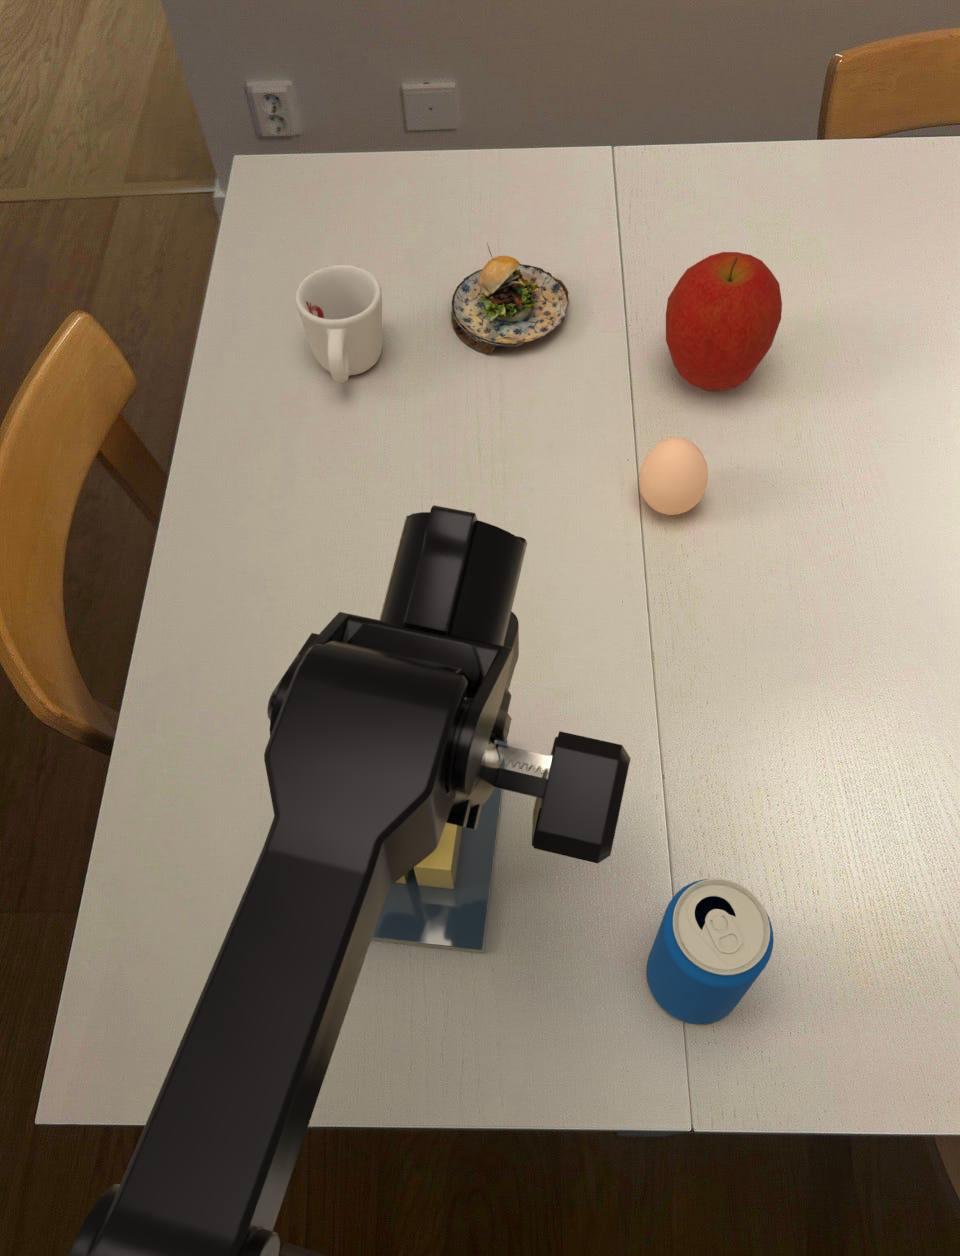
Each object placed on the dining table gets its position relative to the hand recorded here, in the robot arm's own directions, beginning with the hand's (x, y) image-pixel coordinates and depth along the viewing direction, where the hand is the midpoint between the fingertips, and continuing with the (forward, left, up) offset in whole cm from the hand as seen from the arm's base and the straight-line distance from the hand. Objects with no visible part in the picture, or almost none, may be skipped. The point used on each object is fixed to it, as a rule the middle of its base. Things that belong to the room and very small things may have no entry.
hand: (468, 779), depth 65 cm
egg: (+32, +18, -14) cm, 39 cm away
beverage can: (+8, -15, -14) cm, 22 cm away
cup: (+17, +49, -14) cm, 54 cm away
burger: (+34, +46, -14) cm, 59 cm away
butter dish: (-2, +4, -14) cm, 15 cm away
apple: (+45, +28, -14) cm, 55 cm away
